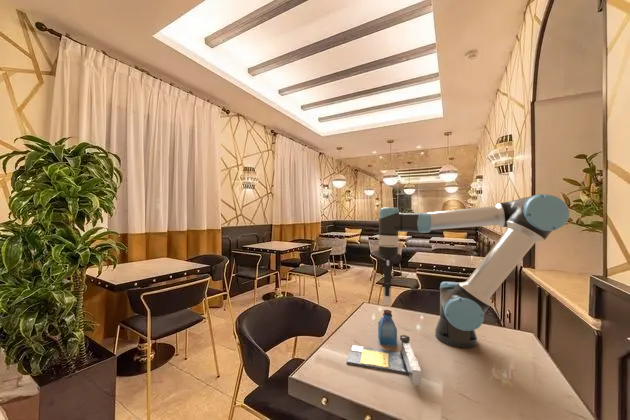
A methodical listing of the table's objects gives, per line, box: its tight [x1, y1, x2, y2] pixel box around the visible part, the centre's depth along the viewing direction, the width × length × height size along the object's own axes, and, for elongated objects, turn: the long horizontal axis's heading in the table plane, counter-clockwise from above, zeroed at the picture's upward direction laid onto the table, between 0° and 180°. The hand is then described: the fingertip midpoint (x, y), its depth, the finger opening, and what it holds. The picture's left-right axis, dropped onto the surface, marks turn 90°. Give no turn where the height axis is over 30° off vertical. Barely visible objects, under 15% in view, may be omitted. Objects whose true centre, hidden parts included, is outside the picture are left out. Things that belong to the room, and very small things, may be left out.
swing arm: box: [399, 334, 422, 386], centre depth 84 cm, size 20×3×5 cm, turn 171°
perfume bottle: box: [377, 309, 398, 347], centre depth 104 cm, size 6×6×12 cm
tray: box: [346, 344, 409, 376], centre depth 90 cm, size 22×12×2 cm, turn 74°
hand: (387, 298), depth 105 cm, fingers open, 13 cm apart
